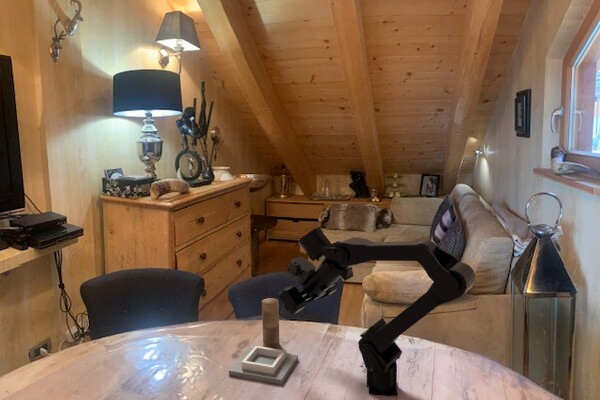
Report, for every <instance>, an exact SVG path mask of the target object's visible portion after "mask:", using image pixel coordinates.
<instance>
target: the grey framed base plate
mask: <svg viewBox="0 0 600 400" xmlns="http://www.w3.org/2000/svg"><path fill="white" fill-rule="evenodd" d="M298 361H299V355H297V354H293V353H287V351H286V350H284V349H279V348H275V349H273V348H267V347H264V346H259V345H255V346H254V347H248V349H247V350H246V351H245V352H244V353H243V354H242V355H241V356H240V357H239V358H238V359H237V361H236V362H235V363H234V364H233V365H232V366H231V367H230V368H229V370H228V376H233V377H238V378H243V379H249V380H255V381H260V382H267V383H271V384H277V385H283V383H284V382H285V380H286V379H287V377H288V376H289V374H290V372H291V371H292V370H293V368H294V366H295V365H296V363H297V362H298Z"/></svg>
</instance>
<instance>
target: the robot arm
mask: <svg viewBox="0 0 600 400" xmlns="http://www.w3.org/2000/svg"><path fill="white" fill-rule="evenodd" d="M298 244H299V246H300V247H301V249H302V250H303V251H304V252H305V253H306V255H307V256H308V258H309V259H310V260H311V261H312V262H315V261H317V262H320V261H321V262H320V264H318V266H317V267H316V266H315V265H314V263H312V262H311V261H310V260H308V259H307V258H305V257H303V256H298V257H296V258H293V259H292V260H291V261H289V263H288V264H287V265H286V272H287V273H288V274H289V275H290V276H291V277H295V278H297V279H299V280H298V283H299V285H300V286H301V287H302V291H299V290H298V289H297V287H296V286H295V285H289V286H287V287H285V288H282V289H281V290H280V292H279V293H278V298H279V299H280V301H281V302H282V305H281V307H280V310H279V314H281V316H287V315H296V314H297V313H299V312H301V311H302V310H303V309H304V308H305V307H306V306H307V305H306V304H308V303H311V302H314V301H317V300H320V299H324V298H326V297H328V296H330V295H331V294H334V293H335V291H337V290H338V287H339V285H338V282H337V281H338V280H340V278H342V280H343V281H349V280H350V279H352V278H354V272H353V270H354V268H353V267H352V266H356V265H359V264H364V263H367V262H378V261H379V262H417V263H418V264H419V265H420V266H421V267H422V269H423V270H424V271H425V273H426V275H427V276H428V278H429V279H430V280H432V281H433V282H432V283H431V285H430V286H429V288H428V289H427V291H426V292H424V293H423V294H422V295H421V296H419V298H417V299H416V300H415V301H413V302H412V303H411V304H410V305H408V307H406V308H405V309H403V310H402V311H401V312H400V313H398V315H396V316H395V317H394V318H392V319H391V320H389V321H386V320H385V319H384V318H383V317H381V318H380V319H379V320H377V321H376V322H375V323H373V325H371V326H370V327H369V328H368V329H366V330H364V331H363V332H362V333H361V334H360V335H359V337H360V339H359V340H358V342H357V344H358V350H359V353H360V354H361V357H362V360H363V363H364V366H365V367H364V368H366V387H367V388H368V395H380V396H392V397H395V396H398V393H399V392H398V386H397V385H398V383H397V380H398V379H397V378H398V376H397V375H398V365H397V361H398V360H399V359H400V358H401V356H402V354H403V350H401V348H400V347H399V346H398V344H397V343H396V341H398V339H399V338H400V336H401V335H402V334H403V333H405V332H406V331H408V330H409V329H410V328H411V327H412V326H414V325H415V324H416V323H418V322H419V321H420V320H422V319H423V318H425V316H427V315H429V314H430V313H431V312H432V311H434V310H435V309H436V308H437V307H439V306H443V305H445V304H449V303H450V302H453V301H454V300H457V299H459V298H461V297H462V296H463V295H465V293H467V291H469V289H470V288H472V286H473V285H474V284H475V283H476V272H475V270H474V269H473V268H472V267H471V266H470V264H468V263H465V262H462V261H461V260H459V258H457V257H456V256H455V255H454V254H452V253H450V252H448V251H446V250H445V249H443V248H441V247H439V246H438V245H437V244H436V243H435V242H433V241H432V240H430V239H424V240H413V241H412V240H411V241H410V240H407V241H372V240H369V239H368V238H367V239H366V238H361V237H355V236H353V237H350V238H347V239H344V240H341V241H340V240H338V241H335V242H333V243H332V242H331V241H330V240H329V238H328V237H327V236H326V234H324V232H323V230H322V229H321V227H320V226H317V227H314V228H313V229H312V230H310V231H309V232H308V233H306V234H305V235H304V236H302V237H300V238H299V240H298ZM322 260H323V261H322Z"/></svg>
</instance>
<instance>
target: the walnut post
mask: <svg viewBox="0 0 600 400" xmlns="http://www.w3.org/2000/svg"><path fill="white" fill-rule="evenodd" d="M279 306H280V305H279V300H278V299H277V298H274V297H273V298H272V297H270V298H269V297H268V298H265V299H262V300H261V316H262V317H261V318H262V319H261V320H262V322H261V323H262V344H263V345H262V347H267V348H273V349H279V347H280V345H281V344H280V342H281V341H280V340H281V339H280V309H279Z"/></svg>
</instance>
